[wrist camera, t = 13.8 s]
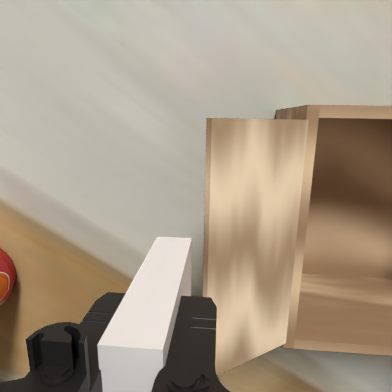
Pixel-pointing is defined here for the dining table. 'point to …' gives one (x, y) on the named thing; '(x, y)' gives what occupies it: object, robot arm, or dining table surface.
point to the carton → (343, 232)
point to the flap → (251, 231)
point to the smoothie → (6, 276)
